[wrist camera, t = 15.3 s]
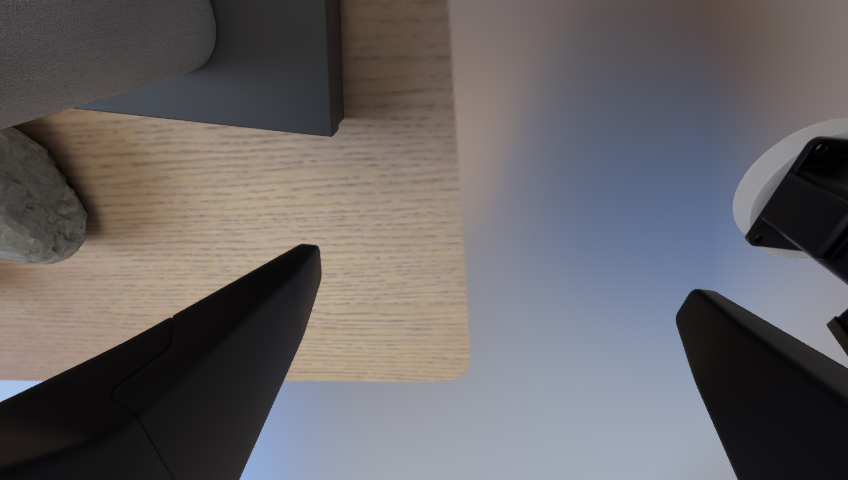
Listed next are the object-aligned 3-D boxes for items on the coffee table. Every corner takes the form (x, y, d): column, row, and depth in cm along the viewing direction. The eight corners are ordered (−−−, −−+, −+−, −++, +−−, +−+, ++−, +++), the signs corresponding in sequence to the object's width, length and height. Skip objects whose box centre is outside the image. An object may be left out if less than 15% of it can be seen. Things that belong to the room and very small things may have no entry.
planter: (90, 14, 16) (-348, 41, 7) (129, -89, 14) (-411, -219, 5) (190, 94, 17) (-74, 196, 9) (238, 12, 15) (-42, 40, 7)
